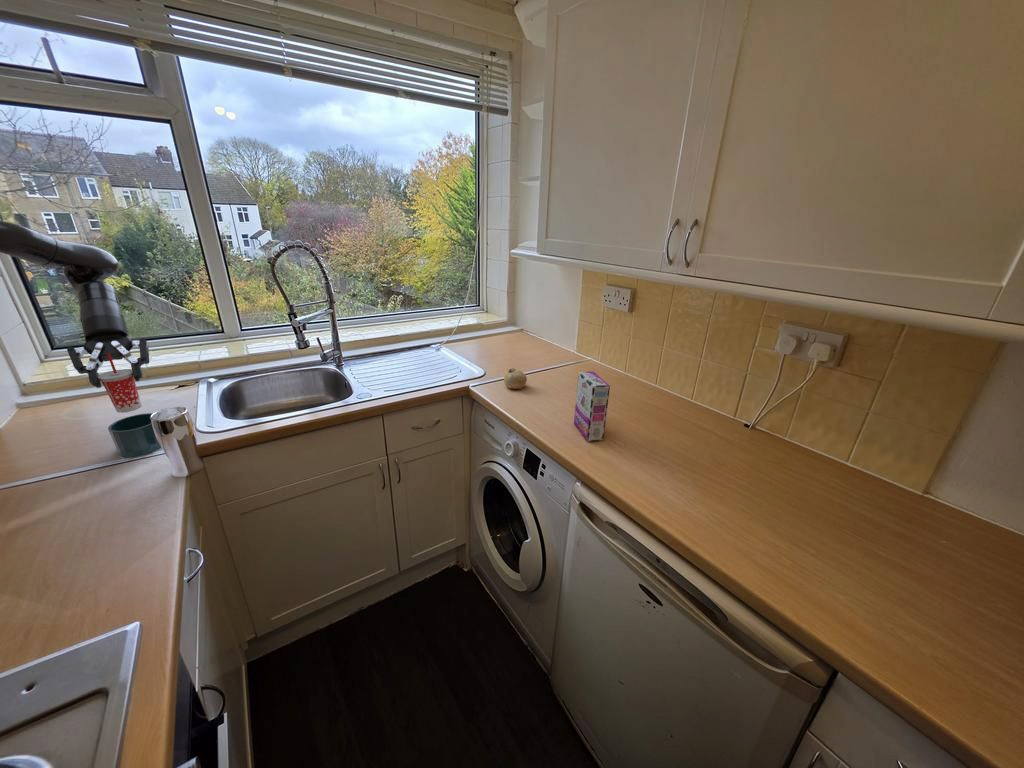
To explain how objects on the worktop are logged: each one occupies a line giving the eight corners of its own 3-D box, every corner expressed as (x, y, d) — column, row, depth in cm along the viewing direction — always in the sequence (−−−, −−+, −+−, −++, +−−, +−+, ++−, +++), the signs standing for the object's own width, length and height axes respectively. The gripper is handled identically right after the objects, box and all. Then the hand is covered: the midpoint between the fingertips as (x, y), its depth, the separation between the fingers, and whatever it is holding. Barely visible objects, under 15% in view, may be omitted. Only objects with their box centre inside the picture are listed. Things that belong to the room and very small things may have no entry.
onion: (518, 381, 149) (519, 363, 146) (530, 388, 142) (531, 370, 140) (499, 385, 145) (500, 367, 142) (511, 393, 139) (511, 374, 136)
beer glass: (173, 482, 91) (151, 423, 85) (167, 470, 95) (145, 413, 89) (210, 469, 96) (191, 412, 90) (202, 458, 100) (184, 403, 94)
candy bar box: (604, 441, 110) (611, 385, 104) (587, 442, 109) (592, 386, 103) (589, 422, 120) (594, 370, 114) (573, 423, 119) (577, 371, 113)
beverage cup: (152, 404, 100) (132, 350, 94) (126, 415, 94) (103, 358, 89) (132, 401, 101) (112, 348, 96) (105, 412, 96) (81, 356, 90)
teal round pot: (133, 466, 96) (120, 435, 93) (112, 456, 100) (99, 426, 97) (178, 447, 104) (168, 418, 101) (157, 438, 108) (147, 410, 105)
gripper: (146, 326, 105) (161, 382, 101) (68, 335, 96) (80, 397, 92) (139, 309, 99) (154, 369, 95) (54, 317, 90) (67, 383, 87)
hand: (117, 382), depth 94 cm, fingers closed on beverage cup, 6 cm apart
